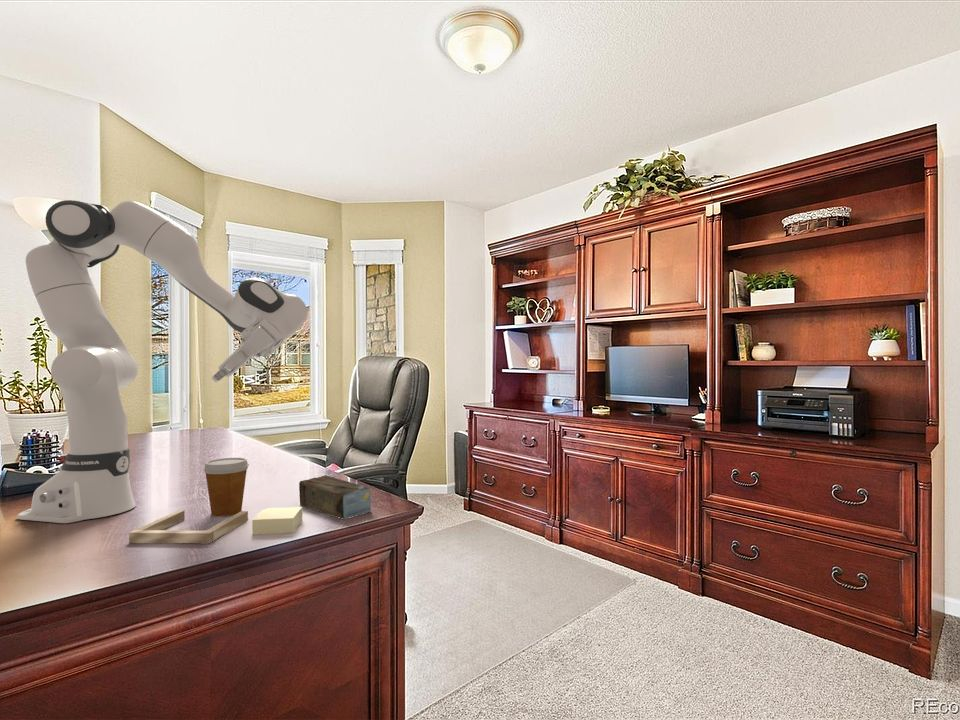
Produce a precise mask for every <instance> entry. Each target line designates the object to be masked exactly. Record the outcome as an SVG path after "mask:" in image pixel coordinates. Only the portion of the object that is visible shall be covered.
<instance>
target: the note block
mask: <svg viewBox="0 0 960 720" xmlns="http://www.w3.org/2000/svg"><path fill="white" fill-rule="evenodd" d="M302 522H303V506H295V507H291V506H290V507H271V508H269V507H267V508H263V509H262V510H261V511H260V512H259V513H258V514H257V515H256V516H255V517H254V518H253V519H252V522H251V523H252V525H251V526H252V528H251V529H252V530H251V531H252V532H251V533H252V535H253V536H254V535H273V534H274V535H275V534H292V533H293V534H294V533H295V531H296V530H297V528H298V527H299V525H300V524H301V523H302Z"/></svg>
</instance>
